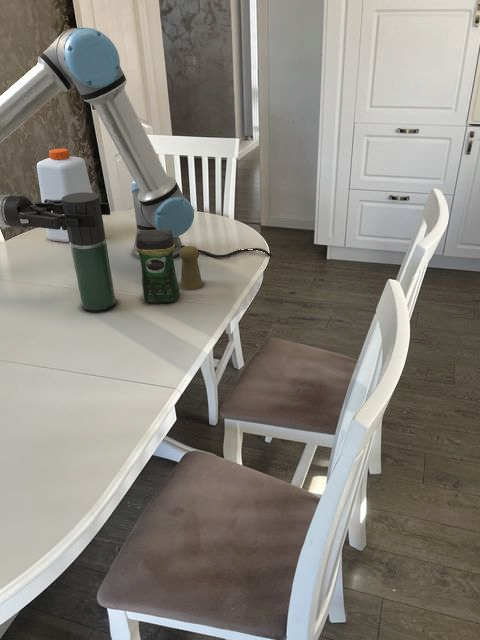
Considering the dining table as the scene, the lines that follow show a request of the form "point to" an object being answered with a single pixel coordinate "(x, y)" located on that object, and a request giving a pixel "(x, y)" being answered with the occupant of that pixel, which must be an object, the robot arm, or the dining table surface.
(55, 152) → the plastic bottle
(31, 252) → the dining table surface
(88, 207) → the grey lidded canister
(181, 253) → the olive pawn figure
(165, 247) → the coffee jar
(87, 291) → the flask
